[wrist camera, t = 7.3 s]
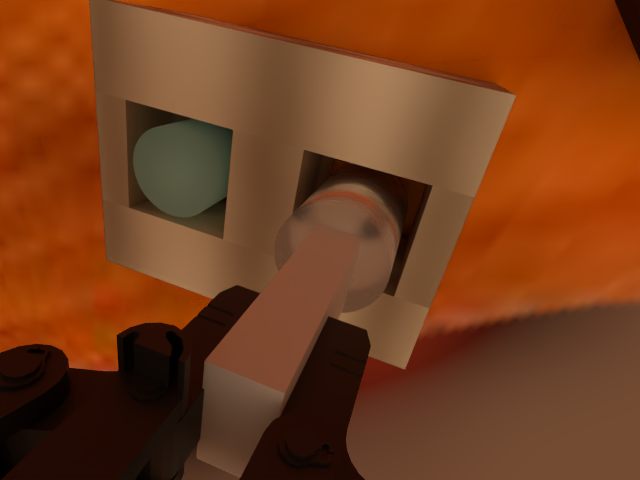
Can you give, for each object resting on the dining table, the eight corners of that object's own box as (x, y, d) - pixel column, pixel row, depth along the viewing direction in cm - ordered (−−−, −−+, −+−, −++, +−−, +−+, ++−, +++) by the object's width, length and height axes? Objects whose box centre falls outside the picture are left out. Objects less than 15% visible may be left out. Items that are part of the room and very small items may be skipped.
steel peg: (314, 230, 19) (266, 290, 14) (331, 151, 18) (283, 189, 13) (393, 255, 19) (372, 328, 14) (420, 176, 17) (406, 226, 12)
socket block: (175, 219, 26) (106, 260, 21) (181, 12, 20) (88, -5, 15) (415, 299, 23) (404, 369, 18) (496, 84, 18) (516, 95, 12)
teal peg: (202, 171, 23) (134, 202, 18) (206, 101, 22) (131, 115, 16) (264, 190, 23) (211, 228, 18) (274, 120, 21) (217, 140, 16)
